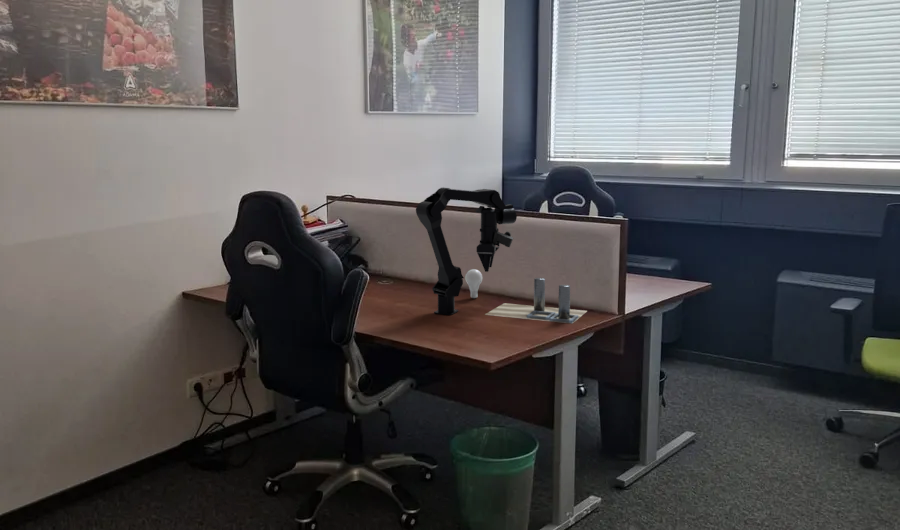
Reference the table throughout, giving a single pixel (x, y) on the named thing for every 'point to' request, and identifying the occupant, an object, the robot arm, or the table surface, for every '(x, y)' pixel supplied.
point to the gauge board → (534, 313)
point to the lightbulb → (473, 281)
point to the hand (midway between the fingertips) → (488, 269)
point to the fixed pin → (564, 302)
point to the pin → (539, 294)
